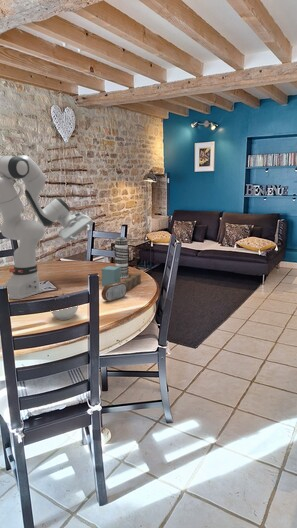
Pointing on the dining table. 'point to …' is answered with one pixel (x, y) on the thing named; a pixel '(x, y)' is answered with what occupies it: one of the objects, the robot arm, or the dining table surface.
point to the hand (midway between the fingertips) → (83, 235)
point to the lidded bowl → (64, 311)
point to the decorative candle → (122, 256)
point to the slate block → (110, 275)
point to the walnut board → (132, 281)
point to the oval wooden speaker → (114, 291)
